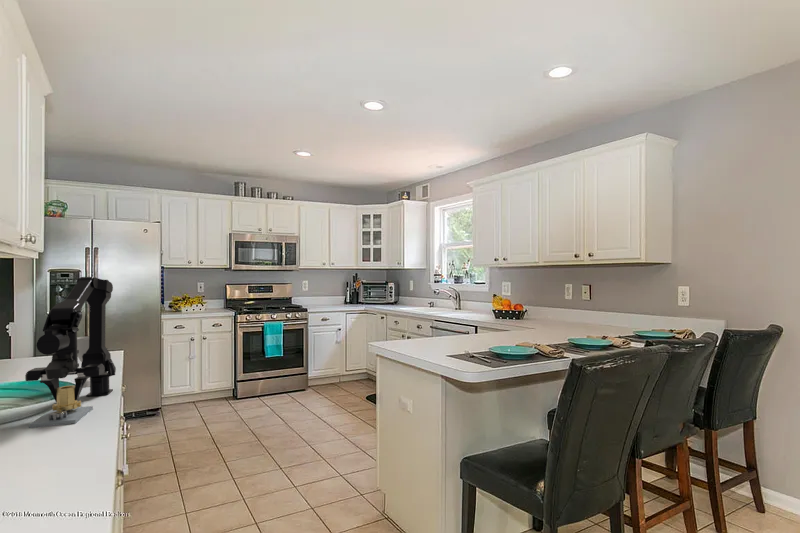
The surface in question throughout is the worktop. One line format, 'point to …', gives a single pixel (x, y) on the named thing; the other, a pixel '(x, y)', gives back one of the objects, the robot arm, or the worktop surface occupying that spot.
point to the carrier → (61, 417)
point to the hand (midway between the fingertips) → (66, 400)
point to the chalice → (83, 347)
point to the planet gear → (66, 399)
